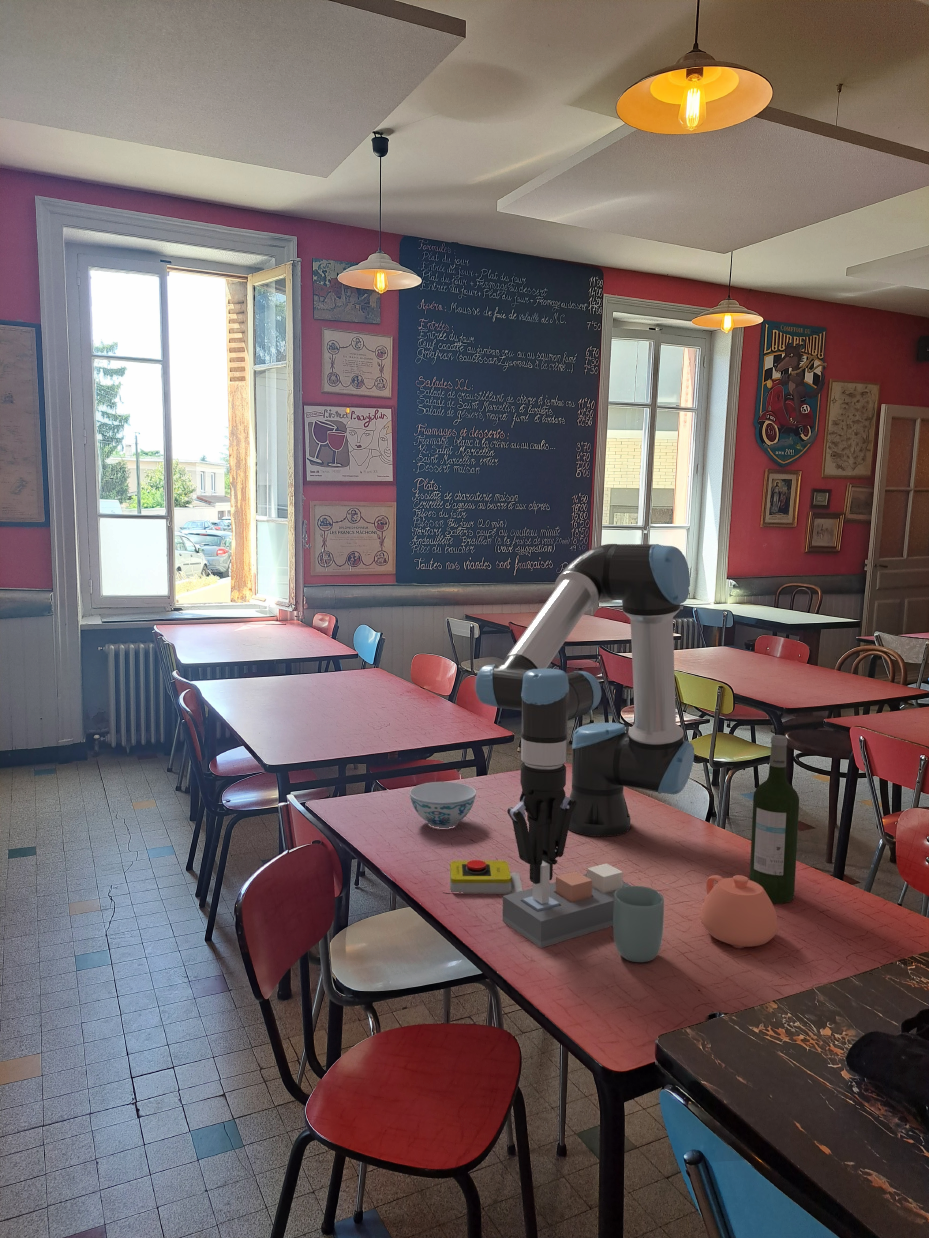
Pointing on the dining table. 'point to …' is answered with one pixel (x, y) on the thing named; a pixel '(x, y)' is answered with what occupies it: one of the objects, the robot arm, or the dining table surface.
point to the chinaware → (442, 802)
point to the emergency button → (483, 877)
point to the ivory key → (605, 878)
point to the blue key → (538, 906)
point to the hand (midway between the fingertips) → (540, 899)
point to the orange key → (573, 886)
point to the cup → (638, 922)
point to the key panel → (558, 916)
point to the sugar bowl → (738, 912)
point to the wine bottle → (775, 829)
